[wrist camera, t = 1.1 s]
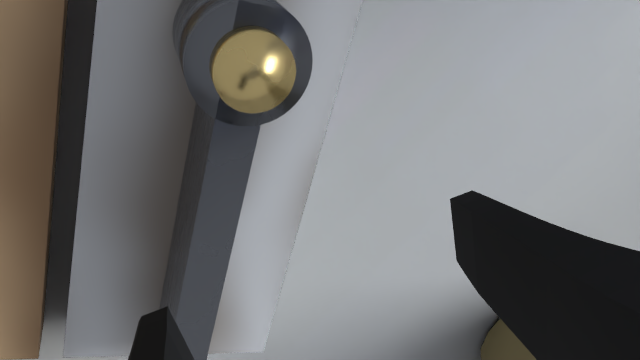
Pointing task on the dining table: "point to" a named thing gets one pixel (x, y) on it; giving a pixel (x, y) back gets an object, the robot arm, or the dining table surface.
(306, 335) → the dining table surface
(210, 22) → the lock bar
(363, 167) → the dining table surface
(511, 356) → the squeeze bottle
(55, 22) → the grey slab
